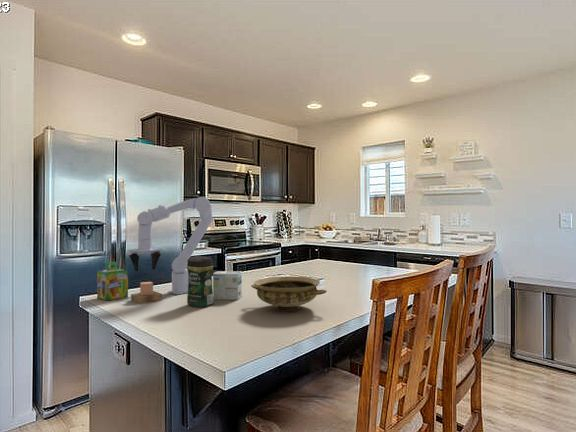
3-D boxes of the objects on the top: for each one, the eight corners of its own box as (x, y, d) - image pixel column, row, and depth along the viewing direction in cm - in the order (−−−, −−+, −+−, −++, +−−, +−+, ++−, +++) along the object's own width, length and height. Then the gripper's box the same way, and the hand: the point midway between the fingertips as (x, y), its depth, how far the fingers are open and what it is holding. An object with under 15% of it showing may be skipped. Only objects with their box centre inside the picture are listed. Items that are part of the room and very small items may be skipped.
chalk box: (107, 301, 146) (106, 264, 146) (96, 298, 152) (95, 263, 152) (129, 297, 154) (128, 262, 154) (117, 294, 159) (117, 260, 159)
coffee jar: (183, 305, 138) (182, 256, 138) (198, 301, 145) (198, 254, 145) (201, 308, 133) (201, 258, 133) (217, 304, 140) (216, 255, 140)
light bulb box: (242, 296, 153) (242, 270, 153) (238, 300, 146) (238, 273, 146) (217, 296, 154) (217, 270, 154) (212, 299, 147) (212, 273, 147)
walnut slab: (152, 297, 154) (152, 290, 154) (162, 301, 148) (162, 293, 147) (131, 301, 148) (131, 294, 148) (139, 305, 141) (139, 297, 141)
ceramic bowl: (338, 305, 135) (337, 279, 135) (310, 322, 114) (310, 291, 114) (269, 297, 150) (268, 273, 150) (233, 311, 129) (233, 283, 129)
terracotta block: (151, 292, 150) (151, 281, 150) (153, 294, 147) (153, 283, 147) (140, 293, 148) (140, 282, 148) (141, 295, 145) (141, 284, 145)
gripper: (157, 238, 168) (157, 267, 168) (124, 239, 157) (124, 270, 157) (164, 238, 162) (164, 269, 162) (131, 240, 152) (130, 272, 152)
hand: (145, 270), depth 160 cm, fingers open, 7 cm apart
